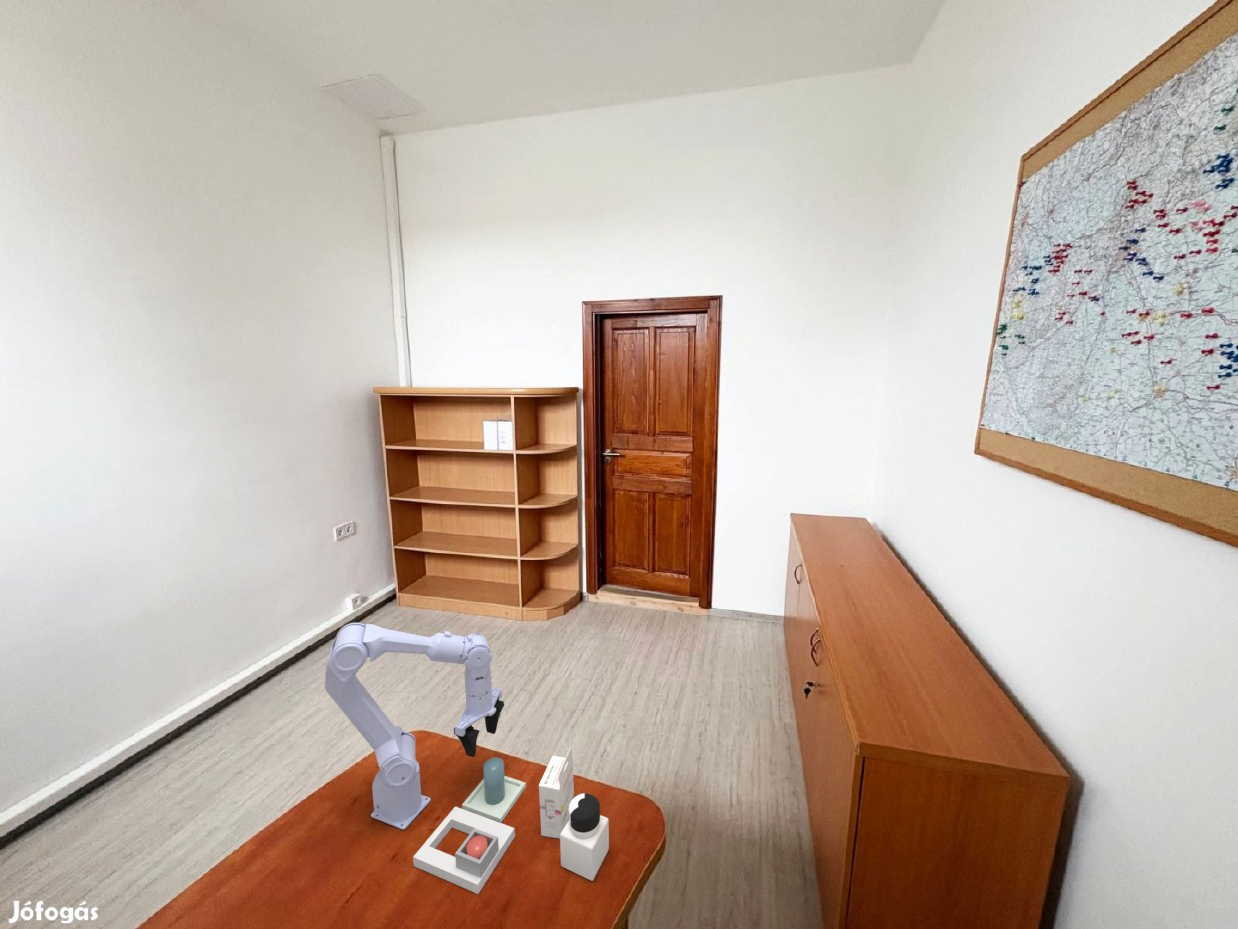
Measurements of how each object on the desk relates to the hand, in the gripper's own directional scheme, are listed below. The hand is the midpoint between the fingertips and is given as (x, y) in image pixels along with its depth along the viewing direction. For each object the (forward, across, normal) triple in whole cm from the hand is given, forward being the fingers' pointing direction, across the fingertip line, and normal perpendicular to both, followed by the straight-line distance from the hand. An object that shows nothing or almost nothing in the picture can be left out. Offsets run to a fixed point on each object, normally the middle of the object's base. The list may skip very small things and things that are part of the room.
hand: (481, 743), depth 108 cm
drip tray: (+10, -2, -5) cm, 12 cm away
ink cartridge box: (+11, -2, -21) cm, 24 cm away
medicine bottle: (+11, -8, -30) cm, 33 cm away
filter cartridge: (+10, -2, -5) cm, 11 cm away
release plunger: (+8, -17, -12) cm, 22 cm away
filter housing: (+10, -15, -7) cm, 20 cm away
